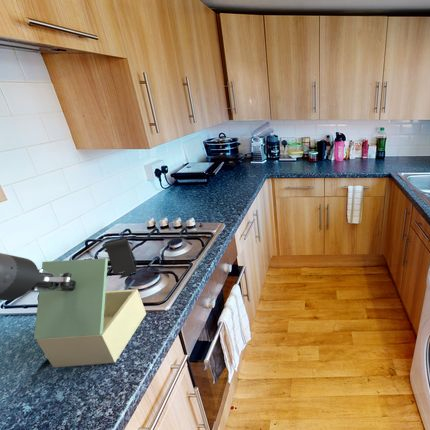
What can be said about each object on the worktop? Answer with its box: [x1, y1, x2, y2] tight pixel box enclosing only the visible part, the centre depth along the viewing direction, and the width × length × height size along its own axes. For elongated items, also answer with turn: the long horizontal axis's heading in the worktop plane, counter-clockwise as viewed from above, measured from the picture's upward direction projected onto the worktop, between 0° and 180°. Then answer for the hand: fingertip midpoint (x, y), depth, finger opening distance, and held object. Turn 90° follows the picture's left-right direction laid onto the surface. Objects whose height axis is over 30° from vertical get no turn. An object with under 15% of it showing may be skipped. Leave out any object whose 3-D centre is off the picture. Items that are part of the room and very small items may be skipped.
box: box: [36, 288, 147, 369], centre depth 71 cm, size 16×14×9 cm
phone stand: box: [104, 236, 137, 279], centre depth 97 cm, size 9×6×12 cm, turn 31°
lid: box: [33, 257, 109, 340], centre depth 64 cm, size 16×14×1 cm
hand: (71, 286), depth 64 cm, fingers closed
